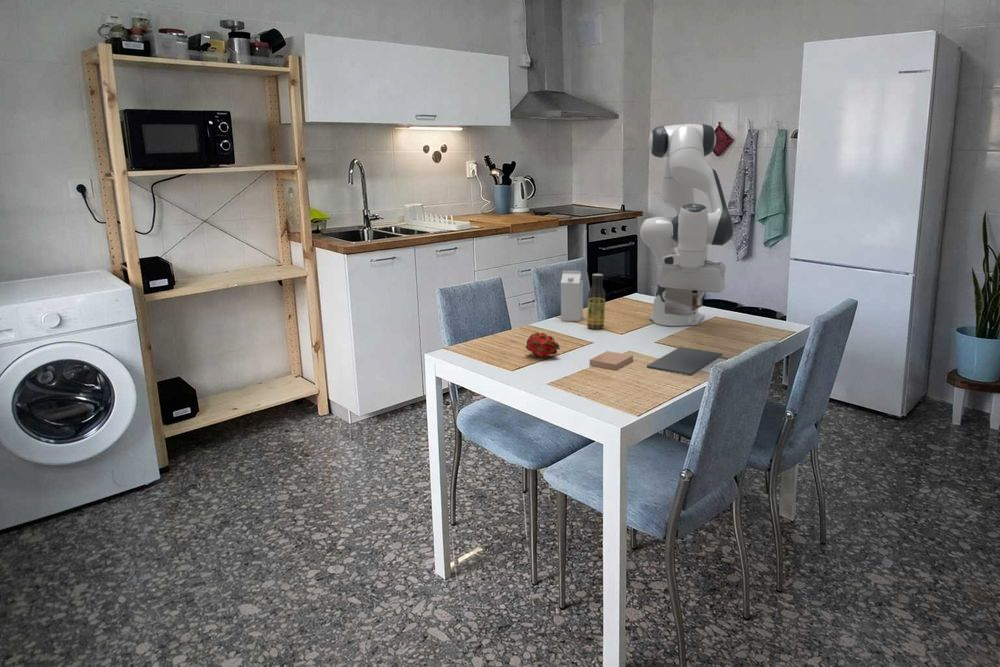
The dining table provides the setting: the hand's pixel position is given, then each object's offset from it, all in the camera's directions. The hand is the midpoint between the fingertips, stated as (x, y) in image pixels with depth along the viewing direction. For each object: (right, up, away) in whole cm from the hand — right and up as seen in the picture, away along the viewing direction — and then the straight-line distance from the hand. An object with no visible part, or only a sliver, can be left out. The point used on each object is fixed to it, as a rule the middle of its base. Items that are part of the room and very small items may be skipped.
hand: (690, 304), depth 215 cm
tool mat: (-1, -18, +1) cm, 18 cm away
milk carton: (-30, -4, +57) cm, 65 cm away
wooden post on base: (-1, -2, -1) cm, 2 cm away
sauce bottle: (-23, -7, +44) cm, 50 cm away
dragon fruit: (-44, -17, +11) cm, 49 cm away
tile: (-21, -16, +6) cm, 27 cm away
